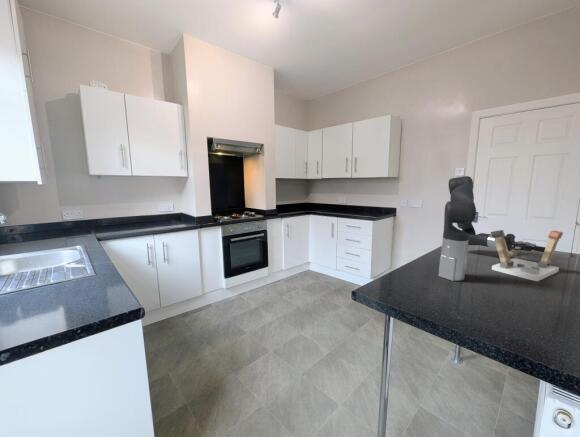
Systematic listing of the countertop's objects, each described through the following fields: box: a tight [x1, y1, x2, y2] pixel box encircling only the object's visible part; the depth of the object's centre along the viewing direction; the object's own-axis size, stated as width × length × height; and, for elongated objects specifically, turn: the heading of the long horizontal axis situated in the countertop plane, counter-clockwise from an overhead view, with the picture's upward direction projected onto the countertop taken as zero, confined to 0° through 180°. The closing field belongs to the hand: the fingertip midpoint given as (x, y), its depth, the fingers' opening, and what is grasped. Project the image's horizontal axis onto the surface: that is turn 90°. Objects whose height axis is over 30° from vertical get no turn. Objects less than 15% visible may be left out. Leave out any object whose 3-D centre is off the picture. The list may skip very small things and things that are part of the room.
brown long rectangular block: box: [539, 230, 564, 266], centre depth 113 cm, size 6×3×17 cm, turn 118°
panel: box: [491, 257, 560, 282], centre depth 115 cm, size 24×16×4 cm, turn 118°
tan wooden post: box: [490, 229, 512, 266], centre depth 115 cm, size 6×3×17 cm, turn 118°
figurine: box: [505, 233, 518, 257], centre depth 140 cm, size 7×7×12 cm
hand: (546, 249), depth 114 cm, fingers closed
